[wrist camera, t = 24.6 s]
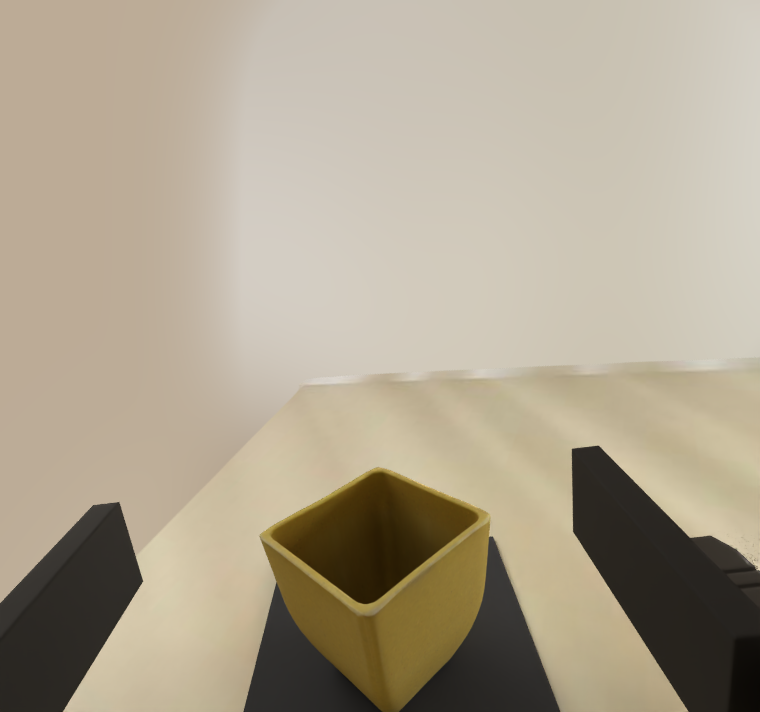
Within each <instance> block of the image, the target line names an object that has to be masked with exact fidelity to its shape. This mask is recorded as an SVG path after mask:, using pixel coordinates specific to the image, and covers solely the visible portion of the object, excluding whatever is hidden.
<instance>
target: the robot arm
mask: <svg viewBox="0 0 760 712" xmlns="http://www.w3.org/2000/svg"><path fill="white" fill-rule="evenodd" d="M572 487H573V532H574V534H575V535H576V537H577V538H578V540H579V541H580V543H581V545H582V546H583V548H584V549H585V551H586V552H587V554H588V555H589V557H590V559H591V560H592V562H593V563H594V565H595V566H596V568H597V570H598V571H599V573H600V574H601V576H602V577H603V579H604V580H605V582H606V584H607V585H608V587H609V588H610V590H611V591H612V593H613V594H614V596H615V598H616V599H617V601H618V602H619V604H620V605H621V607H622V609H623V610H624V612H625V613H626V615H627V616H628V618H629V619H630V621H631V623H632V624H633V626H634V627H635V629H636V630H637V632H638V633H639V635H640V637H641V638H642V640H643V641H644V643H645V644H646V646H647V647H648V649H649V651H650V652H651V654H652V655H653V657H654V658H655V660H656V662H657V663H658V665H659V666H660V668H661V669H662V671H663V672H664V674H665V676H666V677H667V679H668V680H669V682H670V683H671V685H672V686H673V688H674V690H675V691H676V693H677V694H678V696H679V697H680V699H681V701H682V702H683V704H684V705H685V707H686V708H687V710H688V711H689V712H760V571H759V570H756V569H755V566H754V565H753V564H751V563H750V562H749V561H748V560H747V559H746V558H745V557H744V556H743V555H742V554H741V553H739V552H738V551H737V550H736V549H734V548H732V547H731V546H729V545H727V544H725V543H723V542H721V541H720V540H718V539H716V538H714V537H712V536H704V537H696V538H689V537H688V536H687V535H686V533H685V532H684V531H683V530H682V529H681V528H680V527H679V526H678V525H677V524H676V523H675V522H674V521H673V520H672V519H671V518H670V517H669V516H668V515H667V514H666V513H665V512H664V511H663V510H662V509H661V508H660V507H659V506H658V505H657V504H656V503H655V502H654V501H653V500H652V499H651V498H650V497H649V496H648V495H647V494H646V493H645V492H644V491H643V490H642V489H641V488H640V487H639V486H638V485H637V484H636V483H635V482H634V481H633V480H632V479H631V478H630V477H629V476H628V475H627V474H626V473H625V472H624V471H623V470H622V469H621V468H620V467H619V466H618V465H617V464H616V463H615V462H614V461H613V460H612V459H611V458H610V457H609V456H608V455H607V454H606V453H605V452H604V451H603V450H602V449H601V448H600V447H599V446H592V447H583V448H575V449H572ZM142 582H143V580H142V576H141V573H140V570H139V566H138V563H137V560H136V556H135V553H134V550H133V546H132V543H131V540H130V536H129V533H128V530H127V526H126V523H125V520H124V517H123V513H122V510H121V506H120V504H119V502H117V503H108V504H100V505H93V506H92V507H91V508H90V509H89V510H88V511H87V512H86V513H85V514H84V516H83V517H82V518H81V519H80V520H79V521H78V522H77V523H76V524H75V525H74V526H73V527H72V528H71V529H70V530H69V531H68V532H67V533H66V535H65V536H64V537H63V538H62V539H61V540H60V541H59V542H58V543H57V544H56V545H55V546H54V547H53V548H52V549H51V550H50V551H49V553H48V554H47V555H46V556H45V557H44V558H43V559H42V560H41V561H40V562H39V563H38V564H37V565H36V566H35V567H34V568H33V569H32V570H31V571H30V573H29V574H28V575H27V576H26V577H25V578H24V579H23V580H22V581H21V582H20V583H19V584H18V585H17V586H16V587H15V588H14V589H13V590H12V591H11V593H10V594H9V595H8V596H7V597H6V598H5V599H4V600H3V601H2V602H1V603H0V712H63V710H64V709H65V707H66V706H67V704H68V702H69V701H70V699H71V697H72V696H73V694H74V693H75V691H76V689H77V688H78V686H79V684H80V683H81V681H82V680H83V678H84V676H85V675H86V673H87V671H88V670H89V668H90V667H91V665H92V663H93V662H94V660H95V658H96V657H97V655H98V654H99V652H100V650H101V649H102V647H103V645H104V644H105V642H106V641H107V639H108V637H109V636H110V634H111V632H112V631H113V629H114V628H115V626H116V624H117V623H118V621H119V620H120V618H121V616H122V615H123V613H124V611H125V610H126V608H127V607H128V605H129V603H130V602H131V600H132V598H133V597H134V595H135V594H136V592H137V590H138V589H139V587H140V585H141V584H142Z"/></svg>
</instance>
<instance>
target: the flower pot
mask: <svg viewBox="0 0 760 712" xmlns="http://www.w3.org/2000/svg"><path fill="white" fill-rule="evenodd" d="M489 530H490V514H489V513H487V512H486V511H484V510H482V509H480V508H477V507H475V506H473V505H471V504H469V503H466V502H464V501H461V500H459V499H456V498H453V497H451V496H449V495H446V494H444V493H442V492H439V491H437V490H434V489H432V488H430V487H427V486H425V485H423V484H420V483H418V482H416V481H413V480H411V479H409V478H407V477H405V476H402V475H400V474H398V473H395V472H393V471H391V470H388V469H384V468H379V467H377V468H374V469H372V470H370V471H368V472H366V473H364V474H363V475H361V476H359V477H357V478H356V479H354V480H353V481H351V482H349V483H348V484H346V485H344V486H342V487H341V488H339V489H338V490H336V491H334V492H333V493H331V494H330V495H328V496H326V497H324V498H322V499H321V500H319V501H317V502H315V503H313V504H311V505H310V506H308V507H306V508H304V509H302V510H300V511H298V512H296V513H294V514H293V515H291V516H289V517H287V518H286V519H284V520H282V521H280V522H278V523H276V524H274V525H273V526H271V527H270V528H268V529H267V530H266V531H264V532H263V533H261V534H260V539H261V541H262V544H263V547H264V549H265V552H266V555H267V557H268V560H269V563H270V565H271V568H272V570H273V573H274V576H275V579H276V581H277V584H278V587H279V589H280V592H281V594H282V597H283V599H284V602H285V604H286V606H287V608H288V611H289V613H290V614H291V616H292V618H293V620H294V621H295V623H296V624H297V626H298V627H299V629H300V630H301V631H302V633H303V634H304V635H305V636H306V638H307V639H308V640H309V641H310V642H311V643H312V645H313V646H314V647H315V648H316V649H317V650H318V651H319V652H320V653H321V654H322V655H323V656H324V657H325V658H326V659H328V660H329V661H330V662H331V663H332V664H333V665H334V666H335V667H336V668H337V669H338V670H339V671H340V672H341V673H342V674H343V675H344V676H346V677H347V678H348V679H349V680H350V681H351V682H352V683H353V684H354V685H355V686H356V687H357V688H358V689H359V690H360V691H361V692H362V693H363V694H364V695H365V696H366V697H367V698H368V699H369V700H371V701H372V702H373V703H374V704H375V705H376V706H377V707H378V708H379V709H380V710H381V711H382V712H399V711H400V710H401V709H402V708H403V707H404V706H405V705H406V704H407V703H408V702H409V701H410V700H411V699H412V698H413V697H414V696H415V695H416V693H417V692H418V691H419V690H420V689H421V688H422V687H423V686H424V685H425V684H426V683H427V682H428V681H429V680H430V679H431V678H432V677H433V676H434V675H435V674H436V673H437V672H438V671H439V670H440V669H441V668H442V667H443V666H444V665H445V664H446V663H447V662H448V661H449V660H450V658H451V657H452V656H453V655H454V653H455V652H456V650H457V649H458V648H459V646H460V645H461V644H462V642H463V641H464V639H465V638H466V636H467V634H468V633H469V631H470V629H471V627H472V625H473V623H474V621H475V619H476V616H477V614H478V611H479V609H480V606H481V602H482V598H483V593H484V586H485V578H486V566H487V555H488V542H489Z"/></svg>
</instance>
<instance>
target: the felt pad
mask: <svg viewBox="0 0 760 712" xmlns="http://www.w3.org/2000/svg"><path fill="white" fill-rule="evenodd" d="M244 712H382V711H381V710H380V709H379V708H378V707H377V706H376V705H375V704H374V703H373V702H372V701H371V700H369V699H368V698H367V697H366V696H365V695H364V694H363V693H362V692H361V691H360V690H359V689H358V688H357V687H356V686H355V685H354V684H353V683H352V682H351V681H350V680H349V679H348V678H347V677H346V676H344V675H343V674H342V673H341V672H340V671H339V670H338V669H337V668H336V667H335V666H334V665H333V664H332V663H331V662H330V661H329V660H328V659H326V658H325V657H324V656H323V655H322V654H321V653H320V652H319V651H318V650H317V649H316V648H315V647H314V646H313V645H312V643H311V642H310V641H309V640H308V639H307V638H306V636H305V635H304V634H303V633H302V631H301V630H300V629H299V627H298V626H297V624H296V623H295V621H294V620H293V618H292V616H291V614H290V613H289V611H288V608H287V606H286V604H285V602H284V599H283V597H282V594H281V592H280V589H279V587H278V584H277V583H276V586H275V590H274V594H273V598H272V602H271V606H270V610H269V614H268V618H267V622H266V626H265V630H264V634H263V637H262V641H261V645H260V649H259V653H258V657H257V661H256V665H255V669H254V673H253V677H252V681H251V685H250V688H249V692H248V696H247V700H246V704H245V708H244ZM399 712H560V710H559V707H558V705H557V702H556V700H555V697H554V694H553V692H552V689H551V687H550V684H549V681H548V679H547V676H546V674H545V671H544V668H543V666H542V663H541V661H540V658H539V655H538V653H537V650H536V648H535V645H534V642H533V640H532V637H531V635H530V632H529V629H528V627H527V624H526V622H525V619H524V616H523V614H522V611H521V609H520V606H519V603H518V601H517V598H516V596H515V593H514V590H513V588H512V585H511V583H510V580H509V577H508V575H507V572H506V570H505V567H504V564H503V562H502V559H501V557H500V554H499V551H498V549H497V546H496V544H495V541H494V538H493V537H489V542H488V555H487V566H486V578H485V586H484V593H483V598H482V602H481V606H480V609H479V611H478V614H477V616H476V619H475V621H474V623H473V625H472V627H471V629H470V631H469V633H468V634H467V636H466V638H465V639H464V641H463V642H462V644H461V645H460V646H459V648H458V649H457V650H456V652H455V653H454V655H453V656H452V657H451V658H450V660H449V661H448V662H447V663H446V664H445V665H444V666H443V667H442V668H441V669H440V670H439V671H438V672H437V673H436V674H435V675H434V676H433V677H432V678H431V679H430V680H429V681H428V682H427V683H426V684H425V685H424V686H423V687H422V688H421V689H420V690H419V691H418V692H417V693H416V695H415V696H414V697H413V698H412V699H411V700H410V701H409V702H408V703H407V704H406V705H405V706H404V707H403V708H402V709H401V710H400V711H399Z"/></svg>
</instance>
